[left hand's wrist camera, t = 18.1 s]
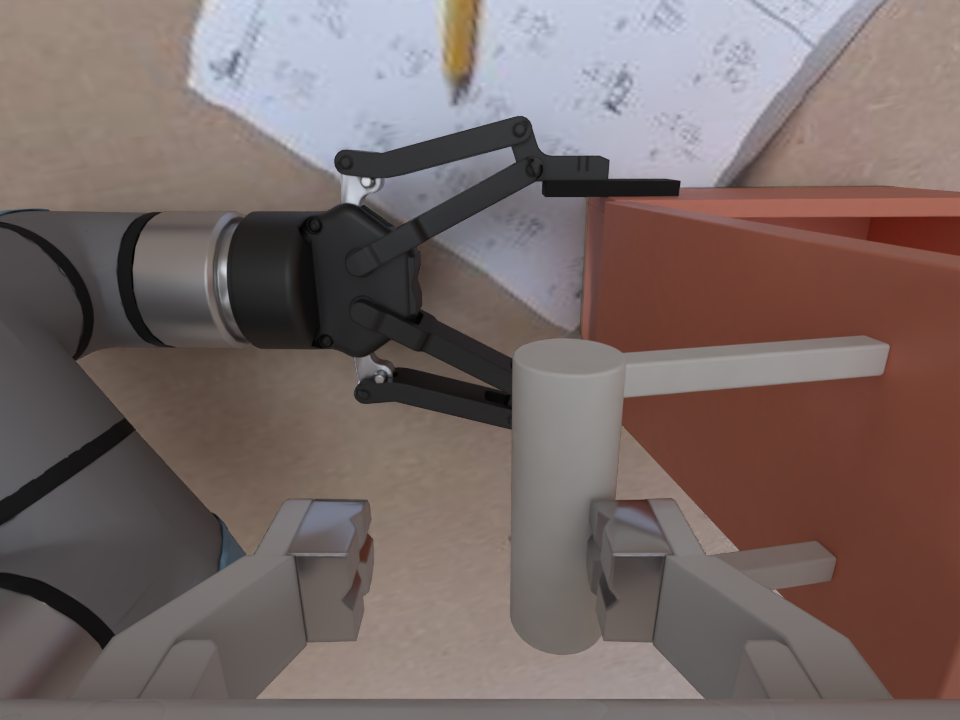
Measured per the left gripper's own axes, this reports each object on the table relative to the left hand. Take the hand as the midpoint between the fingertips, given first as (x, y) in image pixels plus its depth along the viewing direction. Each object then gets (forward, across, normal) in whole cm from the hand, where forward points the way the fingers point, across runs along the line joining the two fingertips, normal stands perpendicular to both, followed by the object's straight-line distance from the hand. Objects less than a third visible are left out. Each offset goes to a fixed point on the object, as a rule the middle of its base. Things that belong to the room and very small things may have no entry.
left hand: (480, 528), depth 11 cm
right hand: (+21, +10, 0) cm, 23 cm away
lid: (+8, +8, 0) cm, 12 cm away
